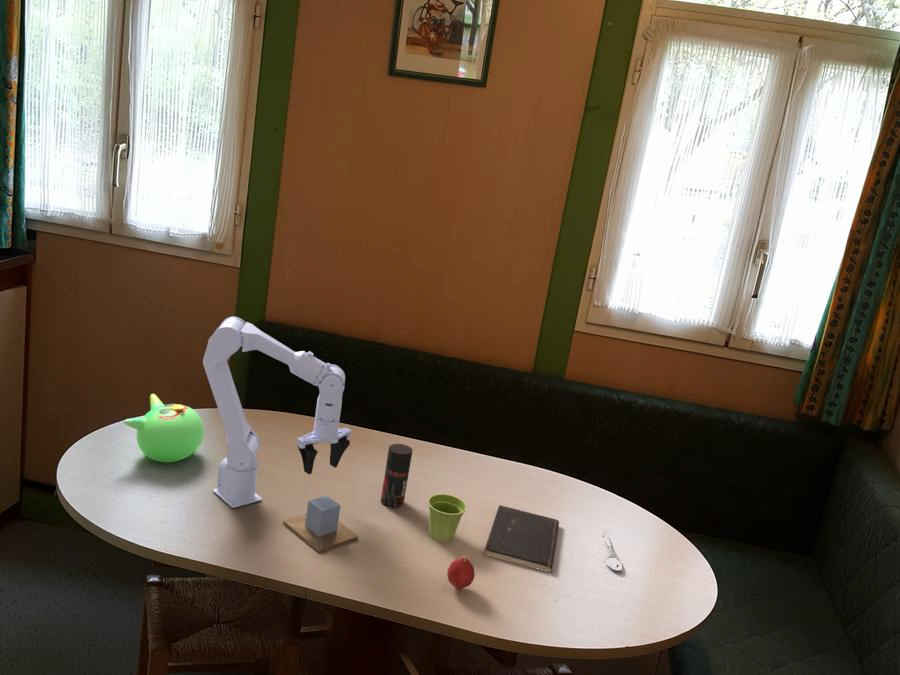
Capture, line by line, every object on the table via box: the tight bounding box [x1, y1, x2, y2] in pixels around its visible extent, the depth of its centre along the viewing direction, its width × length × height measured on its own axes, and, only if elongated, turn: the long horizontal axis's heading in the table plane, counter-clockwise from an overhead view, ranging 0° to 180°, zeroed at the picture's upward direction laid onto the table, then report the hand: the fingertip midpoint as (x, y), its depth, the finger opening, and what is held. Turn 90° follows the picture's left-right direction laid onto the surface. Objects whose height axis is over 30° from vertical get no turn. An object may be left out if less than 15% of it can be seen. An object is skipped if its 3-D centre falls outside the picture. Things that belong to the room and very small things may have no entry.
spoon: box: [607, 546, 623, 572], centre depth 186 cm, size 4×21×2 cm, turn 177°
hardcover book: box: [484, 504, 560, 573], centre depth 184 cm, size 16×23×2 cm
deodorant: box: [380, 443, 413, 509], centre depth 189 cm, size 6×6×15 cm
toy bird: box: [123, 393, 205, 463], centre depth 192 cm, size 18×17×15 cm
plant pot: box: [427, 493, 468, 543], centre depth 178 cm, size 9×9×9 cm
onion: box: [446, 556, 476, 591], centre depth 159 cm, size 6×6×8 cm
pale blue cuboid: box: [305, 495, 341, 537], centre depth 171 cm, size 5×5×7 cm
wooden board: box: [282, 512, 359, 554], centre depth 171 cm, size 14×11×6 cm
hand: (320, 469), depth 180 cm, fingers open, 7 cm apart
